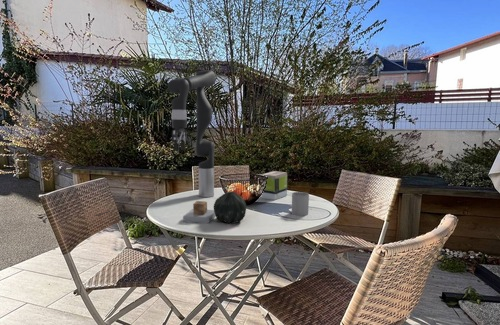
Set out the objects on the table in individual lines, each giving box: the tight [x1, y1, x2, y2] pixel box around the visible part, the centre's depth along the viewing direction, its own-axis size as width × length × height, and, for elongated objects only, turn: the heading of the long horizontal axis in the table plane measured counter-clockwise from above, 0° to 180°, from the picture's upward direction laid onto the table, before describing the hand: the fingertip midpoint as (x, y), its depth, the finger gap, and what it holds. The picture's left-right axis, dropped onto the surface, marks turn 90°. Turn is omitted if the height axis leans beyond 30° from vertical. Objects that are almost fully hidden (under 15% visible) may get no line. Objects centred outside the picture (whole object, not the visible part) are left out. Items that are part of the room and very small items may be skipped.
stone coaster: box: [183, 208, 216, 224], centre depth 147 cm, size 12×12×2 cm
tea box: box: [260, 170, 288, 201], centre depth 190 cm, size 15×10×15 cm
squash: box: [213, 191, 247, 224], centre depth 143 cm, size 14×15×15 cm
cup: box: [291, 191, 310, 217], centre depth 156 cm, size 8×8×10 cm
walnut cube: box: [192, 200, 208, 215], centre depth 146 cm, size 5×5×5 cm
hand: (179, 150), depth 164 cm, fingers open, 8 cm apart
